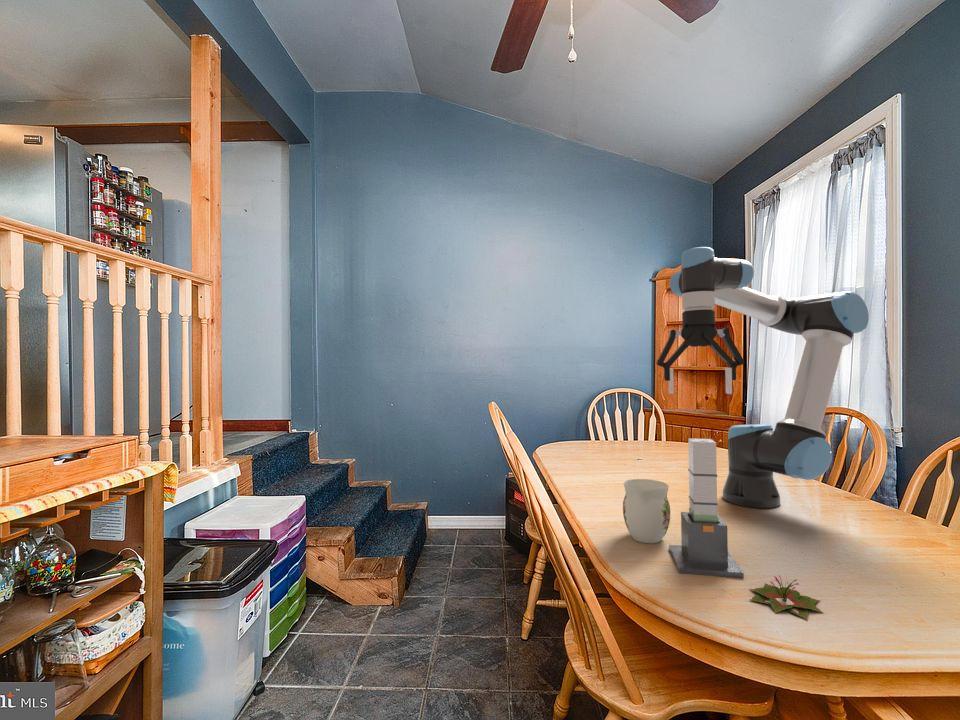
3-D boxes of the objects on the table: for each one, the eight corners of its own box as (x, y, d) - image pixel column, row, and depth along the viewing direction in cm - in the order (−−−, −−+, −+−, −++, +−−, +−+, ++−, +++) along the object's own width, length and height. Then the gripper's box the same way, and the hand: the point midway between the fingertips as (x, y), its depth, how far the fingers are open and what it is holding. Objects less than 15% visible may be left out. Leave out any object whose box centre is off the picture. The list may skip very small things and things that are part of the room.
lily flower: (758, 581, 93) (758, 558, 93) (833, 604, 84) (832, 578, 84) (736, 603, 85) (736, 578, 85) (816, 631, 76) (815, 603, 76)
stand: (726, 553, 105) (725, 510, 105) (743, 578, 93) (742, 530, 93) (669, 549, 107) (668, 508, 107) (679, 572, 96) (678, 526, 96)
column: (712, 521, 102) (710, 438, 102) (718, 528, 97) (716, 442, 97) (689, 519, 103) (687, 438, 103) (693, 527, 98) (692, 442, 98)
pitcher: (673, 527, 121) (672, 474, 121) (668, 554, 105) (667, 493, 105) (629, 521, 126) (628, 470, 126) (618, 546, 109) (617, 488, 109)
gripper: (747, 309, 119) (748, 392, 120) (644, 313, 125) (646, 392, 125) (757, 306, 112) (759, 394, 112) (648, 310, 118) (649, 394, 118)
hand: (699, 393), depth 119 cm, fingers open, 13 cm apart
